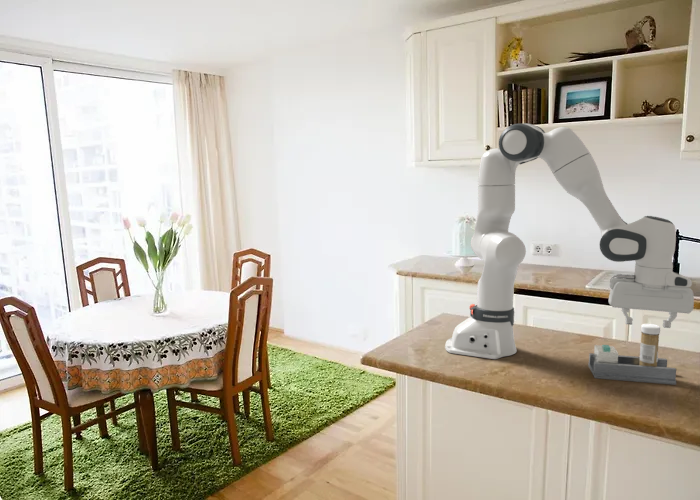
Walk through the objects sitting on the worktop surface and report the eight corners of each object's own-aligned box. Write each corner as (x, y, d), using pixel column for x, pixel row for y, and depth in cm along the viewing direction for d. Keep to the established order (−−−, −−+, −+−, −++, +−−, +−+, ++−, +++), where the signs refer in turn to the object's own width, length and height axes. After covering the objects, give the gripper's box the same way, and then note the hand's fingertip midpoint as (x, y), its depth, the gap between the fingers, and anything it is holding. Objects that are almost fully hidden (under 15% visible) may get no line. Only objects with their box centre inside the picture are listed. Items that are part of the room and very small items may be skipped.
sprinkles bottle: (660, 372, 145) (663, 326, 143) (650, 376, 143) (654, 328, 141) (644, 367, 149) (647, 322, 147) (634, 370, 147) (637, 324, 145)
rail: (594, 378, 145) (596, 351, 143) (588, 365, 154) (589, 339, 153) (676, 384, 139) (678, 356, 138) (664, 371, 149) (666, 344, 148)
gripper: (613, 275, 141) (608, 325, 143) (699, 281, 136) (692, 332, 138) (608, 271, 147) (603, 319, 149) (690, 277, 142) (684, 326, 144)
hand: (647, 325), depth 144 cm, fingers open, 8 cm apart
